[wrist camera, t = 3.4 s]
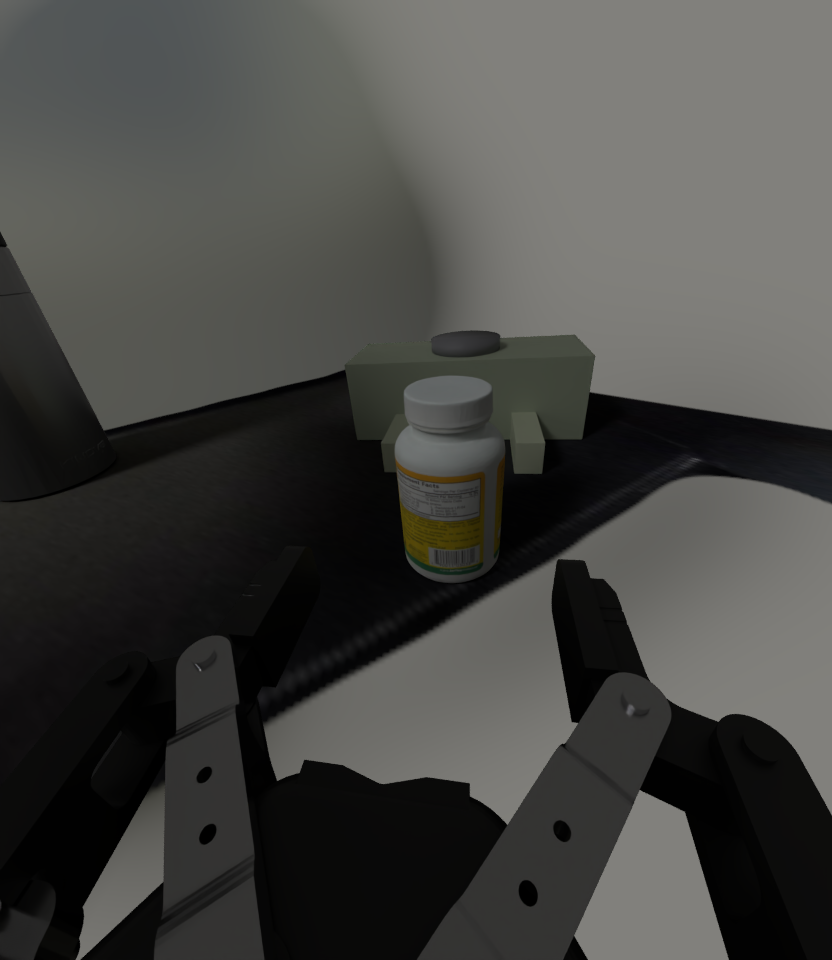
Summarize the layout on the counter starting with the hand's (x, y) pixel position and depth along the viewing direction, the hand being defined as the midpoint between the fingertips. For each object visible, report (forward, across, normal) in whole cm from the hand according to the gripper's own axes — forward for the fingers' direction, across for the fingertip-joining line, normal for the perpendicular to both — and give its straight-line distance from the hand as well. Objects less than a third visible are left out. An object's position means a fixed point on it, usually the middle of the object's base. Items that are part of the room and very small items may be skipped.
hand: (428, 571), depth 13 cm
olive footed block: (+24, 0, +6) cm, 24 cm away
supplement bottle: (+8, 0, +6) cm, 10 cm away
